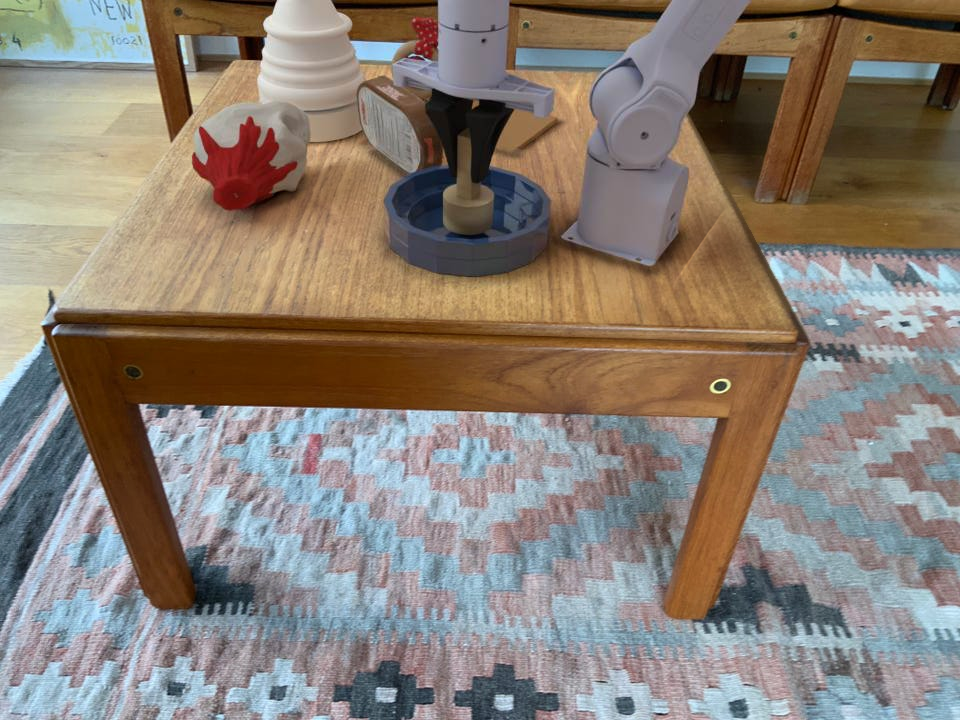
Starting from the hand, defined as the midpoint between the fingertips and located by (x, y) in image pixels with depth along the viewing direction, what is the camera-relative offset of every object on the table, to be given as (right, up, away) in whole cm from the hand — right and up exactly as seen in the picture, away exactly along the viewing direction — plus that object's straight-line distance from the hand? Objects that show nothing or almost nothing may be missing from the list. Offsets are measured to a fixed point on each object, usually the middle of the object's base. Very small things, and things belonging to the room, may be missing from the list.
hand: (469, 176), depth 72 cm
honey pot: (-19, +13, +25) cm, 34 cm away
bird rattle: (-6, +17, +31) cm, 35 cm away
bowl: (0, -5, +4) cm, 7 cm away
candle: (-22, 0, +9) cm, 24 cm away
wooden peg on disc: (0, -4, +3) cm, 5 cm away
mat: (+3, +12, +25) cm, 28 cm away
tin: (-8, +5, +16) cm, 19 cm away
